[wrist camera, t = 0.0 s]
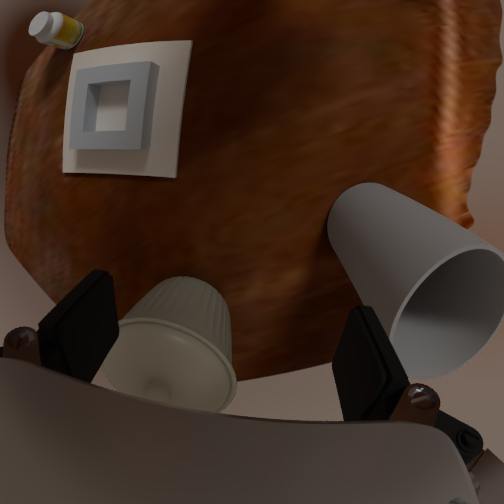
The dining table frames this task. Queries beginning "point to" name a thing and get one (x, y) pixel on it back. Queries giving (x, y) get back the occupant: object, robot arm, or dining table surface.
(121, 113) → the socket holder
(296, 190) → the dining table surface
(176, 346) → the canister
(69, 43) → the supplement bottle
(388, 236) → the cylinder vase
